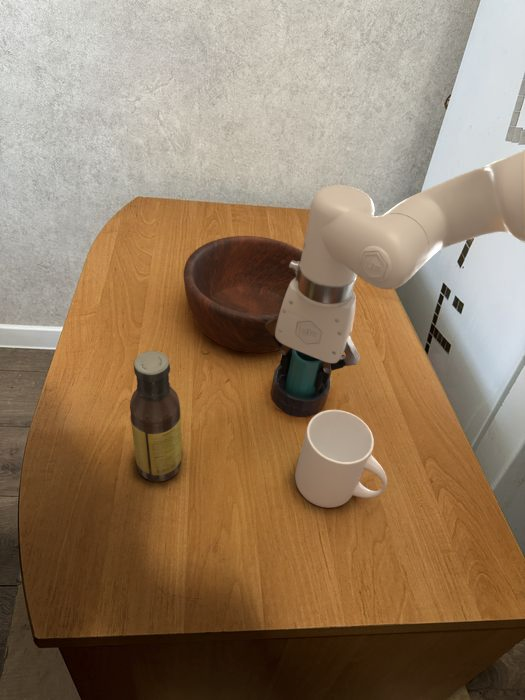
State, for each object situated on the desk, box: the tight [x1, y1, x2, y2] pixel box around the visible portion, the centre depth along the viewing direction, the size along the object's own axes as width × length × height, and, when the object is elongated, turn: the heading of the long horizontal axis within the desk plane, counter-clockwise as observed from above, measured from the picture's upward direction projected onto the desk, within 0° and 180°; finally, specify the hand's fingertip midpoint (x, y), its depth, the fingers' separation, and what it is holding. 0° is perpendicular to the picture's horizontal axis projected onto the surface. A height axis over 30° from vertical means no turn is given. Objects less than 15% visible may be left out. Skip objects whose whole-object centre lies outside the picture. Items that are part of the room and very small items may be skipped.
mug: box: [294, 409, 388, 508], centre depth 70 cm, size 9×12×11 cm
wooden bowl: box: [183, 235, 303, 354], centre depth 95 cm, size 25×25×10 cm
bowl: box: [269, 363, 332, 419], centre depth 84 cm, size 9×9×4 cm
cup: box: [285, 348, 323, 398], centre depth 81 cm, size 5×5×8 cm
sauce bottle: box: [129, 350, 183, 483], centre depth 67 cm, size 6×6×20 cm
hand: (303, 376), depth 82 cm, fingers closed on cup, 5 cm apart
